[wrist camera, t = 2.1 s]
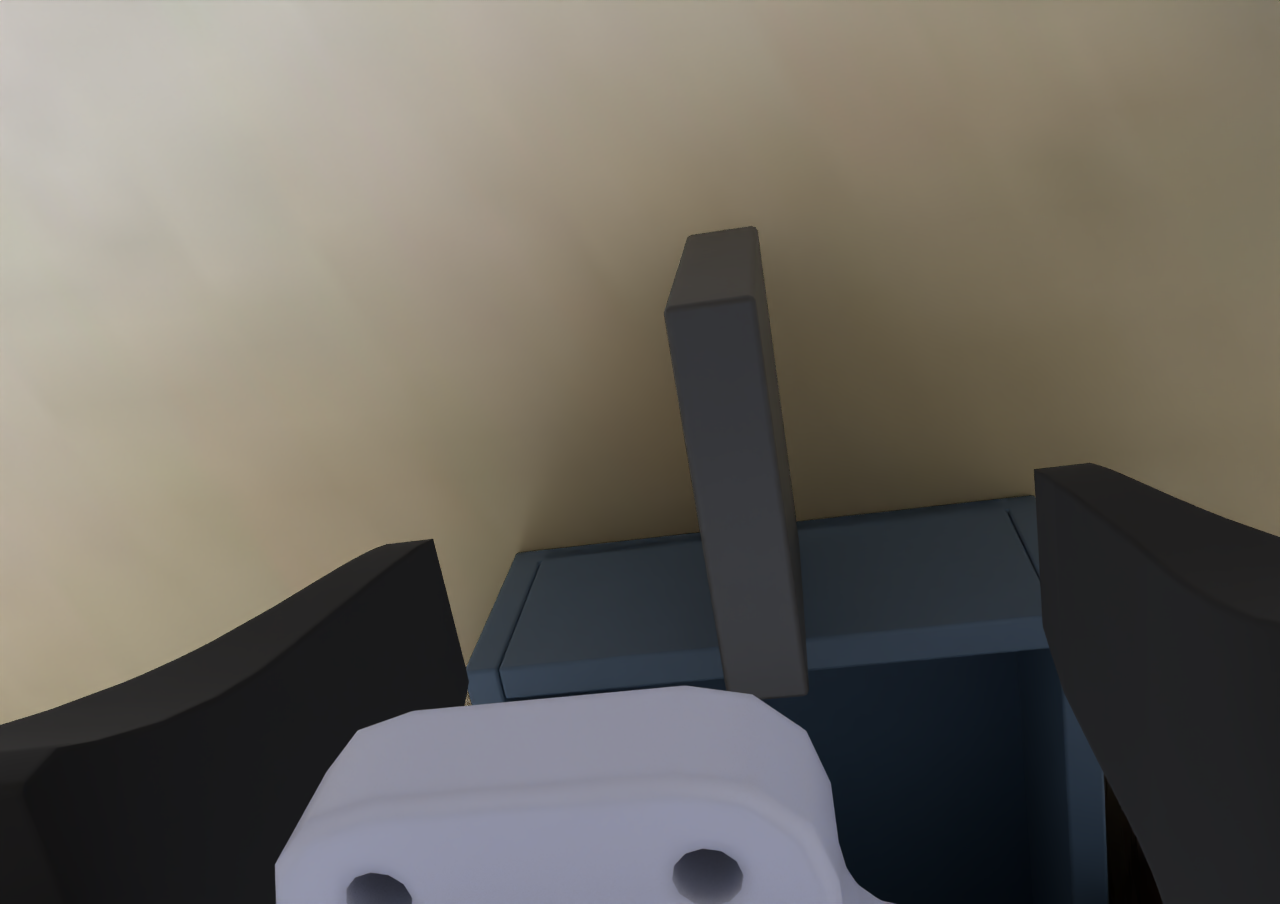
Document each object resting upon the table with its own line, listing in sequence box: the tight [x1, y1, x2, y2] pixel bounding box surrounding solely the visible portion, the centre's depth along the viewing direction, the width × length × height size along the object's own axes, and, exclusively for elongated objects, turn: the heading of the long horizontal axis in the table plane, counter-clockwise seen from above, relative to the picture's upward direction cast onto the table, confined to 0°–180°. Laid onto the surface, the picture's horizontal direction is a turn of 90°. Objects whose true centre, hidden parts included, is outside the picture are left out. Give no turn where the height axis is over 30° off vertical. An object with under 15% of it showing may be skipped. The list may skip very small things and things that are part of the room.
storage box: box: [466, 226, 1109, 904], centre depth 20 cm, size 10×16×6 cm, turn 10°
